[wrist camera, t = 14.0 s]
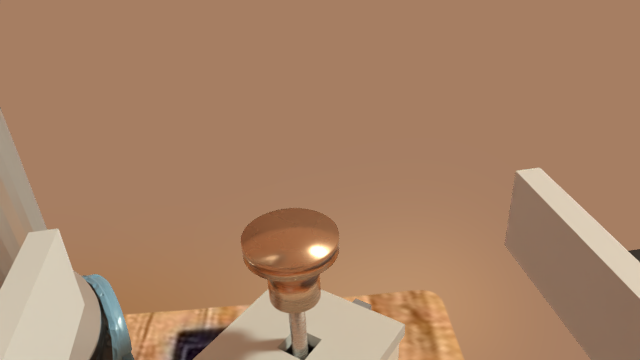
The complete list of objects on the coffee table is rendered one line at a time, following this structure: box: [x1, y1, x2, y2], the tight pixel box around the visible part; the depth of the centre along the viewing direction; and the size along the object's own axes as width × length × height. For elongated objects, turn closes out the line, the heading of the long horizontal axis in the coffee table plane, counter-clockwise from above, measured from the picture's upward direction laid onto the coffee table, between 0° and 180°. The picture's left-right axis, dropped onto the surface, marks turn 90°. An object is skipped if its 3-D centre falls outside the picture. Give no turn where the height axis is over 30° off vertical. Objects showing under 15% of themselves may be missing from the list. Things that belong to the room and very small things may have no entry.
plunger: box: [241, 208, 339, 360], centre depth 42 cm, size 6×6×23 cm
